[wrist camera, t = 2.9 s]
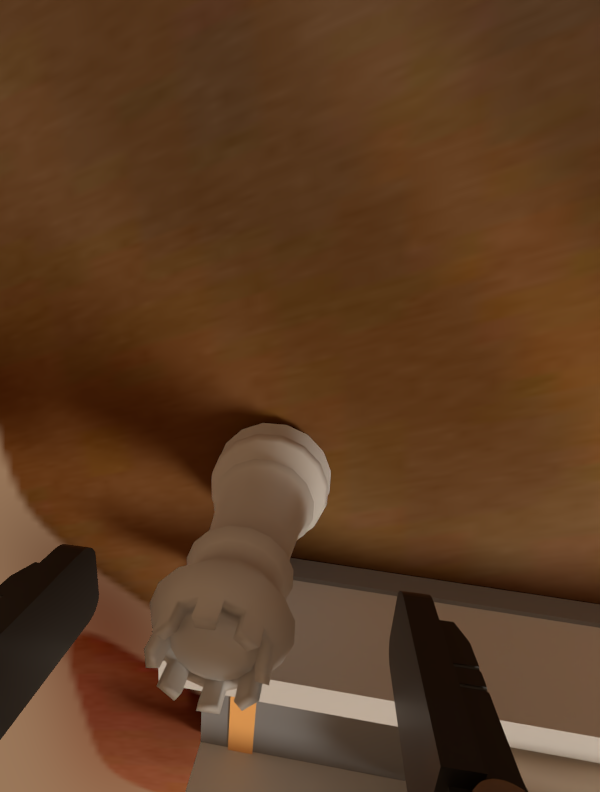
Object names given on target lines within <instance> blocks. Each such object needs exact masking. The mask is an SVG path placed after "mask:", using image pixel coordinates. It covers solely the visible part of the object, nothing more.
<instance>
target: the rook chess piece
mask: <svg viewBox="0 0 600 792" xmlns="http://www.w3.org/2000/svg"><path fill="white" fill-rule="evenodd" d="M330 478H331V471H330V468H329V465H328V463H327V460H326V457H325V455H324V452H323V451H322V450H321V449H320V447H319V446H318V445H317V444H316V443H315V442H314V441H313V440H312V439H311V438H310V437H309V436H308V435H307V434H305V433H303V432H301V431H298V430H296V429H294V428H292V427H290V426H288V425H283V424H270V423H261V424H258V425H255V426H252V427H248V428H245V429H242V430H241V431H240V432H238V433H237V434H236V435H235V436H234V437H233V438H231V439H230V440H229V441H228V442H227V443H226V444H225V447H224V449H223V451H222V453H221V454H220V456H219V459H218V461H217V463H216V465H215V468H214V470H213V472H212V478H211V482H212V500H213V502H214V511H215V514H214V517H213V520H212V523H211V527H210V530H209V531H208V532H206V533H205V534H204V535H203V536H201V537H200V538H199V539H197V540H196V541H195V542H194V543H193V545H192V548H191V550H190V552H189V554H188V556H187V565H186V566H182V567H178V568H177V569H176V570H174V571H173V572H172V573H170V574H169V575H168V576H167V577H165V578H164V579H163V580H161V581H160V582H159V583H158V586H157V588H156V590H155V592H154V595H153V597H152V599H151V602H150V610H151V621H152V628H153V631H152V633H153V634H152V635H151V637H150V639H149V641H148V643H147V645H146V646H145V648H144V653H145V663H146V668H160V666H161V664H162V661H163V659H164V660H165V662H166V663H167V664H166V667H165V669H164V671H163V673H162V675H161V678H160V680H159V682H158V684H157V687H158V688H160V689H161V690H162V691H163V692H164V693H166V694H167V695H168V696H169V697H170V698H171V699H173V700H174V701H175V700H176V698H177V697H178V696H179V695H180V694H181V693H182V690H183V688H184V685H185V683H186V680H188V681H191V682H193V683H195V684H197V685H199V686H202V687H203V689H202V692H201V695H200V698H199V701H198V705H197V709H196V711H201V712H208V713H214V714H220V712H221V708H222V705H223V701H224V698H225V694H226V691H229V690H235V689H237V691H236V695H235V699H234V702H235V703H236V705H237V706H238V707H239V708H240V709H241V711H243V710H244V709H246V708H248V707H250V706H251V705H253V704H255V703H257V702H258V701H259V699H260V694H261V689H262V684H266V685H269V683H270V677H271V672H272V671H273V670H274V669H276V668H277V667H278V666H280V665H281V664H282V663H283V661H284V660H285V658H286V657H287V655H288V653H289V652H290V650H291V649H292V647H293V646H294V638H295V620H294V617H293V615H292V613H291V611H290V608H289V606H288V604H287V602H286V598H287V597H288V595H289V593H290V592H291V590H292V588H293V568H292V566H291V563H290V557H291V554H292V552H293V549H294V547H295V544H296V542H297V540H298V539H299V538H301V537H302V536H303V535H305V533H306V532H307V531H309V530H310V529H312V528H313V527H314V526H315V524H316V522H317V521H318V519H319V517H320V515H321V514H322V512H323V510H324V509H325V507H326V505H327V496H328V494H329V491H330Z"/></svg>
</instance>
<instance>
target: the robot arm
mask: <svg viewBox="0 0 600 792" xmlns="http://www.w3.org/2000/svg"><path fill="white" fill-rule="evenodd" d="M98 598H99V591H98V579H97V568H96V556H95V551H94V550H93V549H92V548H89V547H81V546H74V545H67V544H62V545H60V546H58V547H57V548H55V549H54V550H53V551H52V552H51V553H50V554H49V555H48V556H47V557H46V558H44V559H43V560H42V561H41V562H40V563H37V562H35V563H33V564H31V565H29V566H28V567H26V568H24V569H22V570H20V571H19V572H17V573H15V574H13V575H11V576H10V577H9V578H8V579H6V580H5V581H4V582H3V583H2V584H1V585H0V739H1V738H2V737H3V736H4V734H5V733H6V731H7V730H8V729H9V727H10V726H11V725H12V724H13V722H14V721H15V720H16V718H17V717H18V715H19V714H20V713H21V712H22V710H23V709H24V707H25V706H26V705H27V704H28V702H29V701H30V700H31V698H32V697H33V696H34V694H35V693H36V692H37V690H38V689H39V688H40V686H41V685H42V684H43V682H44V681H45V680H46V678H47V677H48V676H49V674H50V673H51V672H52V670H53V669H54V668H55V666H56V665H57V664H58V662H59V661H60V660H61V658H62V657H63V656H64V655H65V653H66V652H67V651H68V649H69V648H70V647H71V645H72V644H73V643H74V641H75V640H76V639H77V637H78V636H79V635H80V633H81V632H82V631H83V629H84V628H85V627H86V625H87V624H88V623H89V621H90V620H91V618H92V616H93V614H94V612H95V610H96V607H97V603H98ZM389 666H390V674H391V681H392V688H393V695H394V702H395V709H396V716H397V723H398V730H399V737H400V744H401V751H402V758H403V766H404V773H405V780H406V787H407V792H528V790H527V788H526V786H525V784H524V782H523V779H522V777H521V775H520V772H519V769H518V767H517V764H516V762H515V759H514V756H513V754H512V751H511V748H510V746H509V743H508V741H507V738H506V735H505V733H504V730H503V728H502V725H501V722H500V720H499V717H498V714H497V712H496V709H495V707H494V704H493V701H492V699H491V696H490V693H489V692H487V686H486V683H485V680H484V678H483V675H482V672H481V671H480V670H479V665H478V662H477V659H476V657H475V654H474V652H473V649H472V646H471V644H470V642H469V641H468V639H467V638H466V637H465V636H464V634H463V633H462V632H461V631H460V629H459V628H458V627H457V625H456V624H455V623H454V622H451V621H444V620H439V617H438V614H437V611H436V608H435V604H434V601H433V599H432V597H431V595H429V594H421V593H414V592H407V591H399V592H398V595H397V600H396V606H395V611H394V617H393V622H392V628H391V633H390V639H389Z"/></svg>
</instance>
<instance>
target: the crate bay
mask: <svg viewBox="0 0 600 792" xmlns="http://www.w3.org/2000/svg"><path fill="white" fill-rule="evenodd" d="M290 563H291V566H292V568H293V588H292V590H291V592H290V593H289V595H288V597H287V598H286V602H287V604H288V606H289V608H290V611H291V613H292V615H293V617H294V620H295V638H294V646H293V647H292V649H291V650H290V652H289V653H288V655H287V657H286V658H285V660H284V661H283V663H282V664H281V665H280V666H278V667H277V668H276V669H274V670H273V671H272V672H271V677H270V683H269V685H266V684H262V689H261V694H260V699H259V701H258V702H257V703H255V704H253V705H251V706H250V707H248V708H246V709H244V710H243V711H241V709H240V708H239V707H238V706H237V705H236V703H235V702H234V699H235V695H236V691H237V689H235V690H229V691H226V694H225V698H224V701H223V705H222V708H221V712H220V714H214V713H208V712H201V743H200V746H199V749H198V753H197V756H196V759H195V762H194V766H193V769H192V772H191V775H190V779H189V782H188V785H187V788H186V792H407V787H406V780H405V773H404V766H403V758H402V751H401V744H400V737H399V730H398V723H397V716H396V709H395V702H394V695H393V688H392V681H391V674H390V666H389V639H390V633H391V628H392V622H393V617H394V611H395V606H396V600H397V595H398V592H399V591H407V592H414V593H421V594H429V595H431V597H432V599H433V601H434V604H435V608H436V611H437V614H438V617H439V620H444V621H451V622H454V623H455V624H456V625H457V627H458V628H459V629H460V631H461V632H462V633H463V634H464V636H465V637H466V638H467V639H468V641H469V642H470V644H471V646H472V649H473V652H474V654H475V657H476V659H477V662H478V665H479V670H480V671H481V672H482V675H483V678H484V680H485V683H486V686H487V692H489V693H490V696H491V699H492V701H493V704H494V707H495V709H496V712H497V714H498V717H499V720H500V722H501V725H502V728H503V730H504V733H505V735H506V738H507V741H508V743H509V746H510V747H512V748H518V749H523V750H529V751H534V752H540V753H545V754H551V755H556V756H562V757H567V758H573V759H578V760H584V761H589V762H595V763H600V604H593V603H587V602H580V601H573V600H567V599H560V598H553V597H547V596H540V595H534V594H527V593H520V592H514V591H507V590H500V589H494V588H487V587H481V586H474V585H467V584H461V583H454V582H448V581H441V580H434V579H428V578H421V577H414V576H408V575H401V574H395V573H388V572H381V571H375V570H368V569H361V568H355V567H348V566H342V565H335V564H328V563H322V562H315V561H308V560H302V559H295V558H290ZM166 664H167V663H166V662H165V660H164V659H163V661H162V664H161V666H160V668H158V670H159V680H160V678H161V675H162V673H163V671H164V669H165V667H166ZM184 688H187V689H193V690H198V691H202V689H203V687H202V686H199V685H197V684H195V683H193V682H191V681H188V680H186V683H185V685H184Z"/></svg>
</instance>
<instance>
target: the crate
mask: <svg viewBox="0 0 600 792" xmlns="http://www.w3.org/2000/svg"><path fill="white" fill-rule="evenodd" d="M510 748H511V751H512V754H513V756H514V759H515V762H516V764H517V767H518V769H519V772H520V775H521V777H522V779H523V782H524V784H525V786H526V788H527V790H528V792H600V763H595V762H589V761H584V760H578V759H573V758H567V757H562V756H556V755H551V754H545V753H540V752H534V751H529V750H523V749H518V748H512V747H510Z"/></svg>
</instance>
